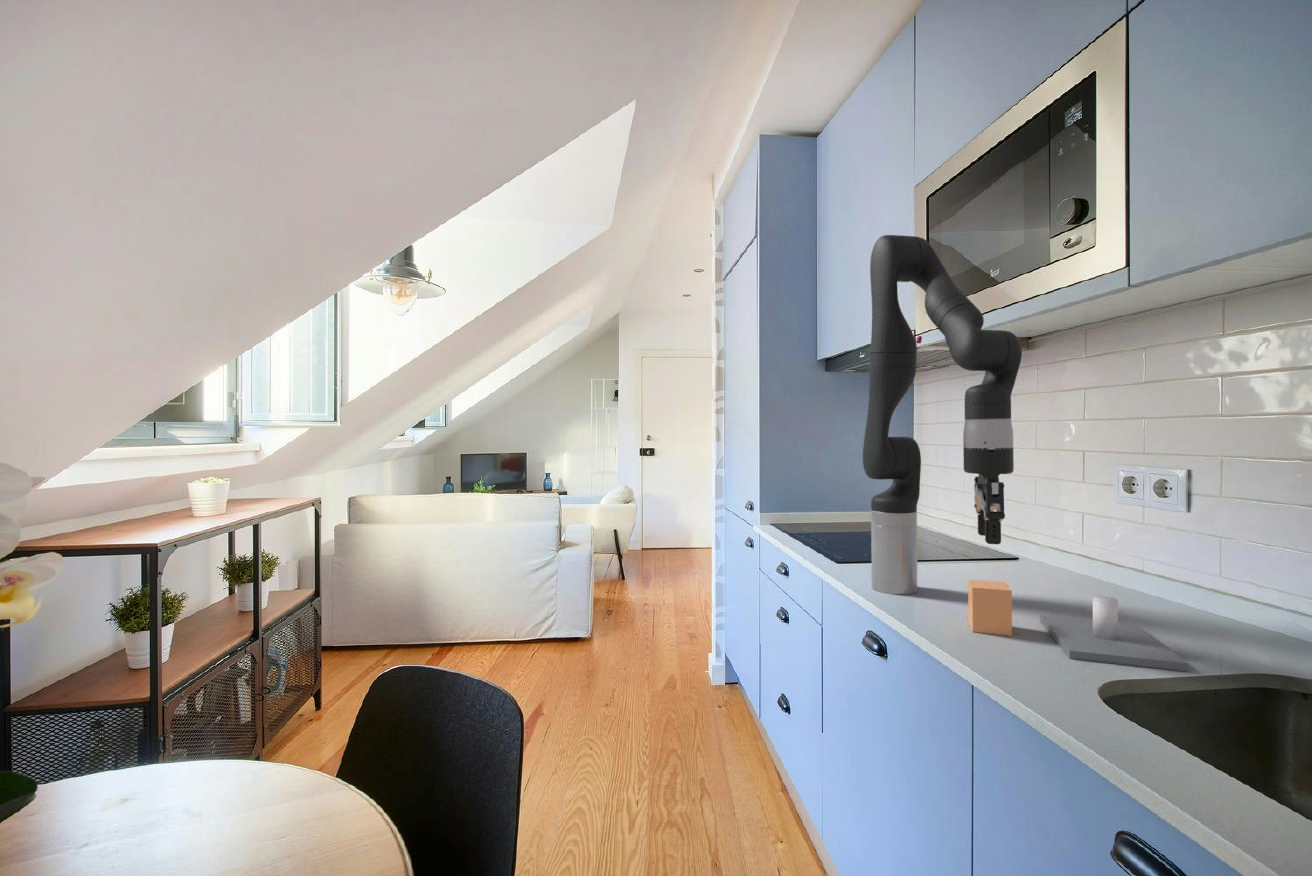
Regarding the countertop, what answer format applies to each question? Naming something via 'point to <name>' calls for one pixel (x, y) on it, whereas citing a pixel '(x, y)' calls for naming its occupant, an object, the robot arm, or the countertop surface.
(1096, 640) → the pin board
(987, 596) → the peach foam cube
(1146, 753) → the countertop surface
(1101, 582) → the countertop surface
